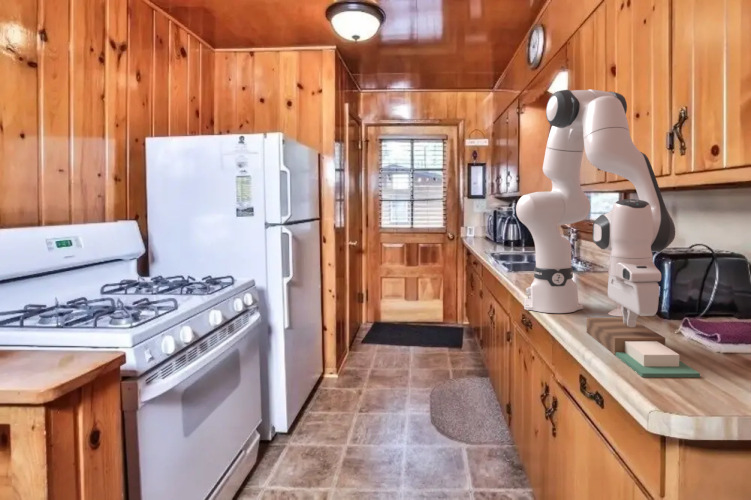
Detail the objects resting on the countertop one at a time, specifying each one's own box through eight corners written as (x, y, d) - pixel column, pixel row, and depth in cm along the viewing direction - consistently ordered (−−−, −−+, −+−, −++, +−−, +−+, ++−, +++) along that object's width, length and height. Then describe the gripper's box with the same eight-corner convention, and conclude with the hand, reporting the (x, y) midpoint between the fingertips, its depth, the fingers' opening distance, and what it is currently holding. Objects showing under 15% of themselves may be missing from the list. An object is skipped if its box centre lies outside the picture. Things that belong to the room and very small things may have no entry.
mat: (615, 355, 112) (615, 352, 112) (665, 355, 110) (666, 352, 110) (642, 377, 98) (642, 373, 98) (700, 377, 97) (700, 373, 96)
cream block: (624, 351, 112) (624, 341, 111) (656, 351, 111) (657, 341, 110) (643, 366, 102) (643, 354, 101) (679, 366, 101) (679, 354, 101)
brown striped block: (586, 332, 132) (586, 317, 131) (628, 331, 131) (629, 317, 130) (614, 354, 112) (614, 338, 112) (664, 354, 111) (665, 337, 110)
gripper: (601, 262, 125) (600, 315, 126) (634, 275, 105) (633, 337, 106) (627, 262, 124) (625, 314, 126) (665, 275, 104) (663, 337, 105)
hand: (629, 325), depth 116 cm, fingers closed
